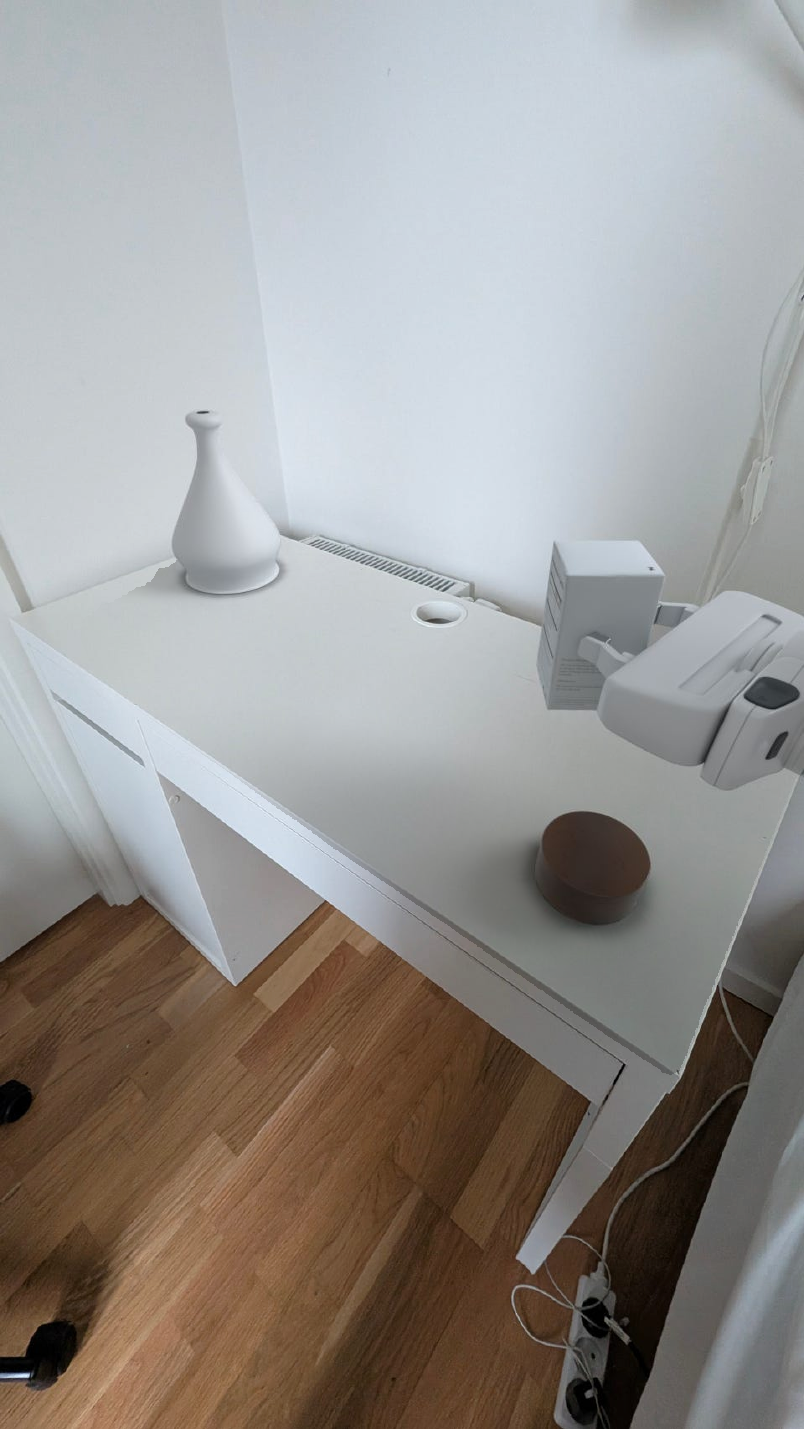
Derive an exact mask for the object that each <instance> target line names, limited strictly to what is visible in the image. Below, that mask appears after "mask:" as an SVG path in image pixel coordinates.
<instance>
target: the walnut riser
mask: <svg viewBox="0 0 804 1429" xmlns="http://www.w3.org/2000/svg"><path fill="white" fill-rule="evenodd" d="M651 862H652V861H651V857H650V854H649V851H648V848H647V847H646V845H645V844H644V842H643V840H642V839H641V838H640V836H638V834H637V833H636V832H635V831H634V830H632V829H631V828H630V827H629V826H627V825H626V824H624V823H623V822H622V821H619V820H618V819H616V818H614V817H611V816H609V815H606V814H603V813H600V812H595V811H586V810H576V811H570V812H566V813H563V814H561V815H559V816H557V817H555V818H554V819H552V820H551V821H550V822H549V823H548V824H547V825H546V827H545V828H544V829H543V833H542V836H541V840H540V844H539V848H538V851H537V856H536V860H535V863H534V878H535V881H536V885H537V887H538V888H539V891H540V893H541V894H542V896H543V898H544V899H545V900H546V901H547V902H548V903H549V904H550V905H551V906H552V907H553V908H554V909H556V910H557V911H558V912H560V913H561V914H563V915H564V916H566V917H568V918H570V919H571V920H574V921H577V922H581V923H584V924H589V925H608V924H613V923H616V922H619V921H621V920H623V919H624V918H626V917H628V916H629V915H630V913H632V911H633V910H634V909H635V907H636V905H637V903H638V901H639V899H640V896H641V895H642V893H643V890H644V888H645V886H646V884H647V881H648V879H649V876H650V874H651V868H652V867H651V864H652V863H651Z"/></svg>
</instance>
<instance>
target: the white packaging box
mask: <svg viewBox="0 0 804 1429" xmlns="http://www.w3.org/2000/svg"><path fill="white" fill-rule="evenodd" d="M548 572H549V573H548V580H547V587H546V595H545V603H544V610H543V616H542V623H541V624H542V625H541V630H540V635H539V636H540V637H539V644H538V648H537V657H536V665H535V666H536V669H537V673H538V677H539V682H540V686H541V690H542V694H543V698H544V702H545V706H546V709H547V710H548V711H597V707H598V703H599V699H600V695H601V692H602V689H603V685H604V682H605V680H606V678H605V677H604V676H603V674H602V673H601V672H600V670H599V669H598V668H597V667H596V665H595V664H593V663H591V662H589V661H587V660H585V659H583V658H581V657H580V656H579V654H578V648H579V644H580V640H581V639H582V638H584V637H586V636H587V635H589V634H591V633H592V632H598V633H599V634H600V635H605V636H607V637H609V638H612V639H611V642H610V646H611V647H612V648H613V649H615V650H616V651H617V652H618V653H619V654H622V653H623V652H627V653H630V654H632V655H634V656H637V655H638V654H640V653H641V652H642V651H644V650H645V649H646V648H648V644H649V641H650V637H651V633H652V630H653V626H654V625H653V623H654V619H655V615H656V612H657V608H658V604H659V601H661V596H662V592H663V589H664V585H665V581H666V579H667V575H666V574H665V573H664V571H663V569H662V568H661V567H660V566H659V564H658V563H657V561H656V560H655V559H654V558H653V556H652V555H651V554H650V553H649V551H648V550H647V549H646V547H645V546H644V545H643V544H642V542H641V541H640V540H553V545H552V549H551V558H550V565H549V571H548Z"/></svg>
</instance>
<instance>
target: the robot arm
mask: <svg viewBox="0 0 804 1429" xmlns="http://www.w3.org/2000/svg"><path fill="white" fill-rule="evenodd" d="M655 625H659V626H662V627H663V626H664V627H668V628H669V627H670V628H672V629H671V630H669V631H667V632H666V633H664V635H662V636H661V637H660V638H658V639H657V640H655V641H654V642H653V643H652V644H650V645H649V646H647V648H646V649H645V650H644V651H642V652H641V653H640V654H638V655H637V656H634V655H632V654H630V653H627V652H623V653H622V654H619V653H618V652H617V651H616V650H615V649H613V648H612V647H611V646H610V642H611V639H612V638H609V637H607V636H605V635H600V634H599V633H598V632H592V633H591V634H589V635H587V636H586V637H584V638H582V639H581V640H580V644H579V648H578V654H579V656H580V657H581V658H583V659H585V660H587V661H589V662H591V663H593V664H595V665H596V667H597V668H598V669H599V670H600V672H601V673H602V674H603V676H604V677H605V678H606V680H605V682H604V685H603V689H602V692H601V695H600V699H599V703H598V707H597V710H596V715H597V717H598V718H599V720H600V722H601V724H602V725H603V726H604V727H605V729H606V730H608V731H609V732H611V733H612V734H614V735H616V736H618V737H619V738H621V739H623V740H624V741H626V742H628V743H630V744H632V745H634V746H636V747H638V748H640V749H642V750H643V751H645V752H647V753H649V754H651V755H654V756H655V757H658V758H660V759H661V760H664V761H666V762H669V763H671V764H674V765H678V766H682V767H697V766H700V765H702V766H701V770H700V772H699V775H700V778H701V779H702V780H703V782H705V783H706V784H709V785H710V786H712V787H713V788H716V789H718V790H720V791H724V792H727V791H728V792H729V791H734V790H736V789H738V788H740V787H743V786H745V785H747V784H750V783H751V782H754V781H757V780H759V779H761V778H764V777H767V776H769V775H774V774H777V773H779V772H781V771H782V770H784V769H785V770H788V771H790V772H792V773H794V774H796V775H798V776H800V777H801V776H802V778H804V616H803V615H801V614H799V613H797V612H795V611H793V610H790V609H788V608H786V607H784V606H782V605H779V604H776V603H774V602H773V601H769V600H766V599H764V598H762V597H759V596H756V595H753V594H751V593H748V592H745V591H739V590H724V591H722V592H721V593H720V594H718V595H717V596H715V597H714V598H712V599H711V600H709V601H708V602H707V603H706V604H705V605H703V606H698V605H696V604H693V603H686V602H671V601H662V600H659V604H658V608H657V612H656V615H655V619H654V623H653V626H655Z"/></svg>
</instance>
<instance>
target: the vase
mask: <svg viewBox="0 0 804 1429" xmlns="http://www.w3.org/2000/svg"><path fill="white" fill-rule="evenodd" d="M223 421H224V419H223V416H222V413H220V412H218V411H216V410H211V409H199V410H194V411H191V412H188V413H187V414H186V415H185V417H184V422H185V423H186V425H187V426H188V427H189V428H190V429H191V430H192V431H193V433H194V436H195V442H196V444H195V445H196V463H195V468H194V471H193V475H192V478H191V482H190V484H189V488H188V490H187V493H186V496H185V499H184V502H183V504H182V506H181V510H180V512H179V515H178V518H177V520H176V523H175V526H174V529H173V533H172V538H171V550H172V553H173V555H174V557H175V559H176V560H177V562H178V563H179V564H180V565H181V566H182V567H183V569H184V570H185V571H186V574H185V582H186V583H187V585H188V586H189V587H191V589H194V590H196V591H199V592H203V593H207V594H213V595H230V594H231V595H232V594H239V593H240V594H241V593H245V592H250V591H254V590H257V589H259V588H262V587H264V586H267V585H268V584H270V583H272V582H273V581H274V580H275V579H276V578H277V577H278V575H279V574H280V566H279V564H278V563H277V562H276V560H277V558H278V554H279V552H280V549H281V544H282V538H281V534H280V531H279V528H278V527H277V525H276V524H275V522H274V521H273V519H272V518H271V517H270V516H269V514H268V513H267V511H266V510H265V509H264V507H263V506H262V505H261V504H260V503H259V501H258V500H257V498H255V496H254V495H253V494H252V493H251V491H250V490H249V489H248V488H247V486H246V485H245V483H244V482H243V481H242V479H241V478H240V477H239V475H238V474H237V473H236V471H235V469H234V468H233V467H232V465H231V463H230V462H229V460H228V458H227V456H226V454H225V451H224V449H223V445H222V442H221V438H220V435H219V429H220V427H221V425H222V424H223Z"/></svg>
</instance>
